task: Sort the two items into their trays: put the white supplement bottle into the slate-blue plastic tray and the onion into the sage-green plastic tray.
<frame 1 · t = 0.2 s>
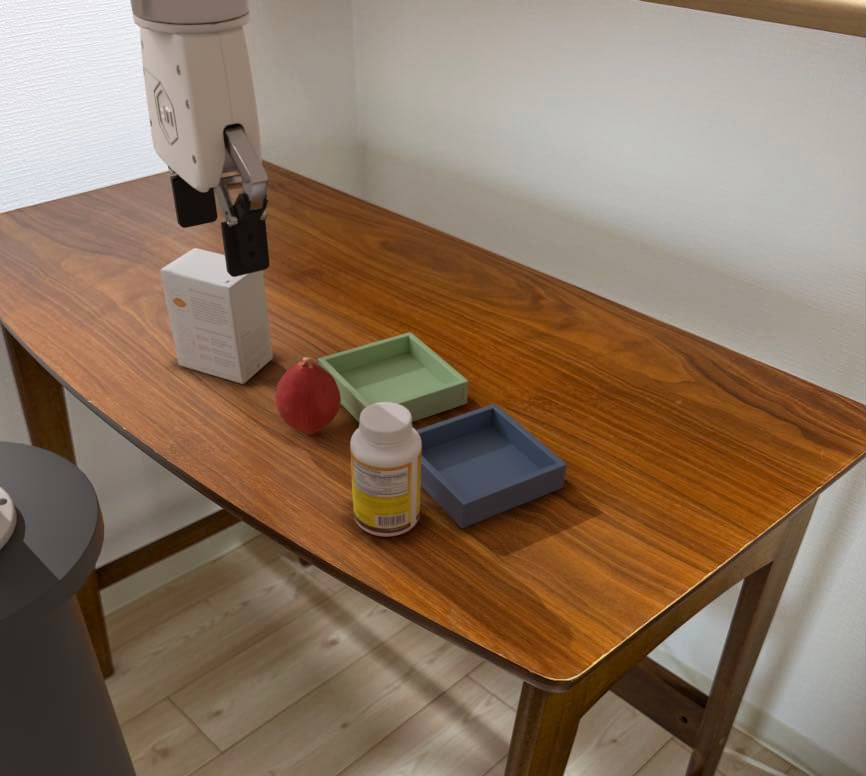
hand: (222, 246, 70), 18 cm above the table, tool pointing down, fingers open, 9 cm apart
onion: (310, 433, 84), on the table
small box: (226, 364, 92), on the table
slate tray: (478, 474, 80), on the table
green tray: (392, 392, 89), on the table
supplement bottle: (386, 519, 75), on the table
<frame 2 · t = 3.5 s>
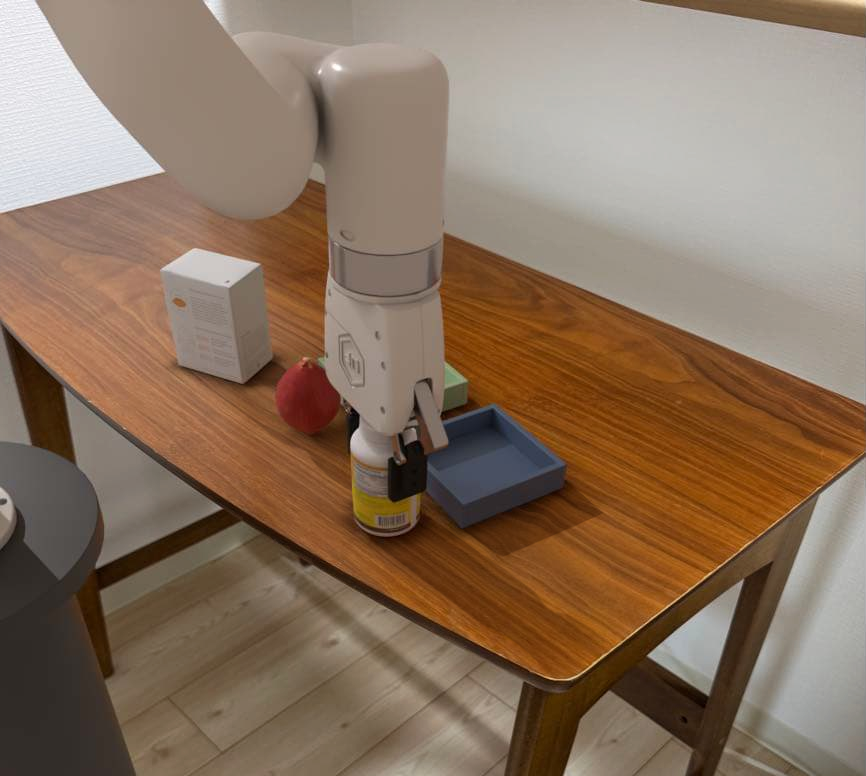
hand: (386, 471, 72), 5 cm above the table, tool pointing down, fingers closed on supplement bottle, 5 cm apart
supplement bottle: (386, 519, 75), on the table, touching gripper
everything else where it was.
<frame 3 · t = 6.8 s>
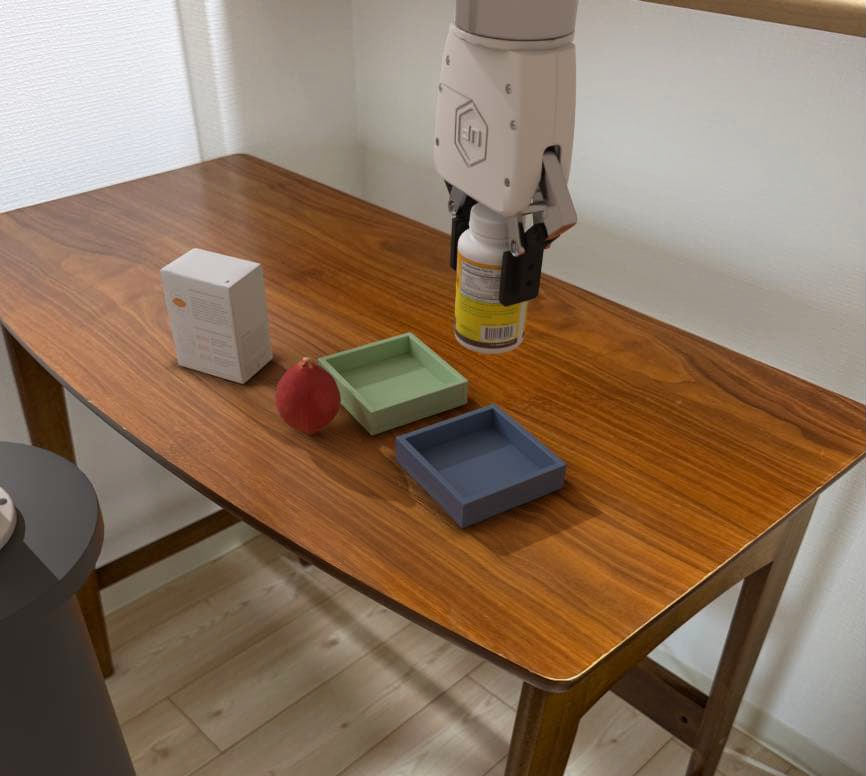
hand: (493, 280, 67), 18 cm above the table, tool pointing down, fingers closed on supplement bottle, 5 cm apart
supplement bottle: (488, 341, 71), point 13 cm above the table, touching gripper
everything else where it was.
when the fingers open (6 cm above the table, at t = 10.1 s): supplement bottle stays where it is, resting on slate tray.
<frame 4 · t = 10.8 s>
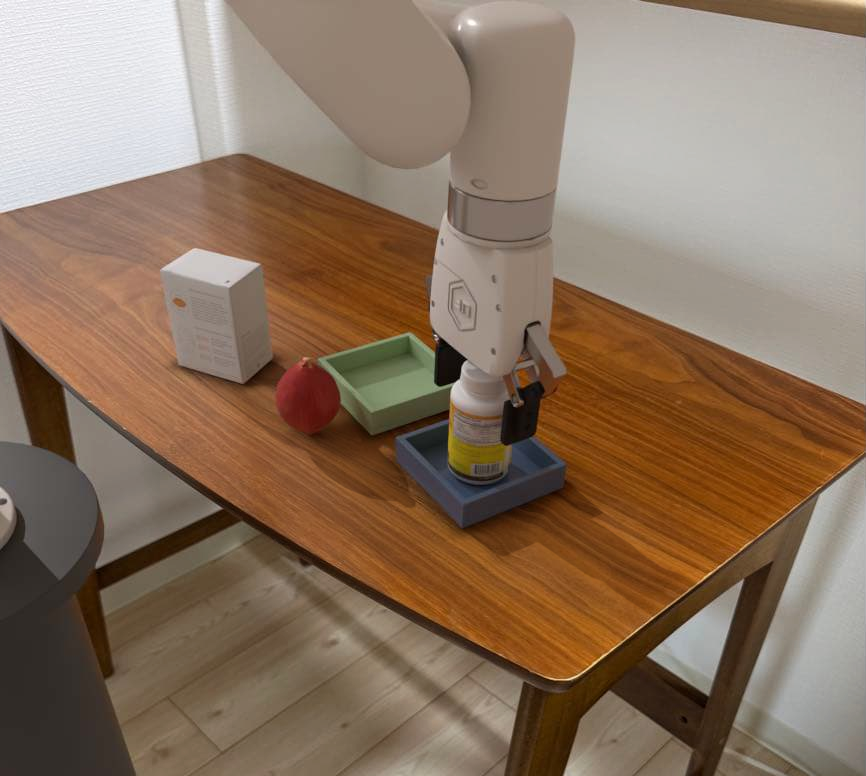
hand: (483, 409, 75), 7 cm above the table, tool pointing down, fingers open, 9 cm apart
supplement bottle: (477, 470, 80), resting on slate tray
everything else where it was.
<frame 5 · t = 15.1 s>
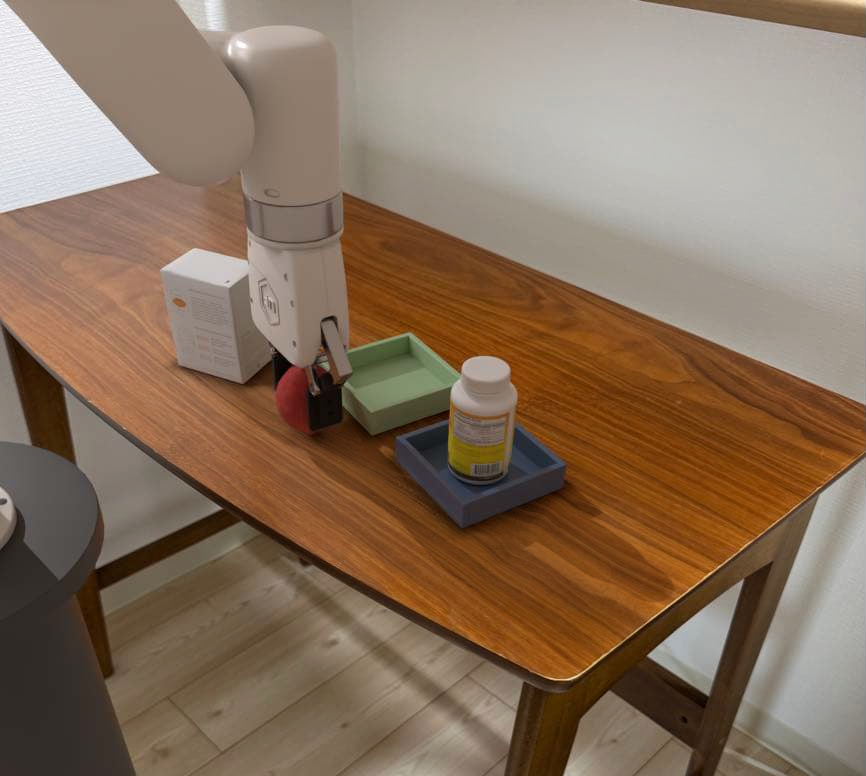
hand: (308, 405, 82), 3 cm above the table, tool pointing down, fingers closed on onion, 6 cm apart
onion: (310, 433, 84), on the table, touching gripper
everything else where it was.
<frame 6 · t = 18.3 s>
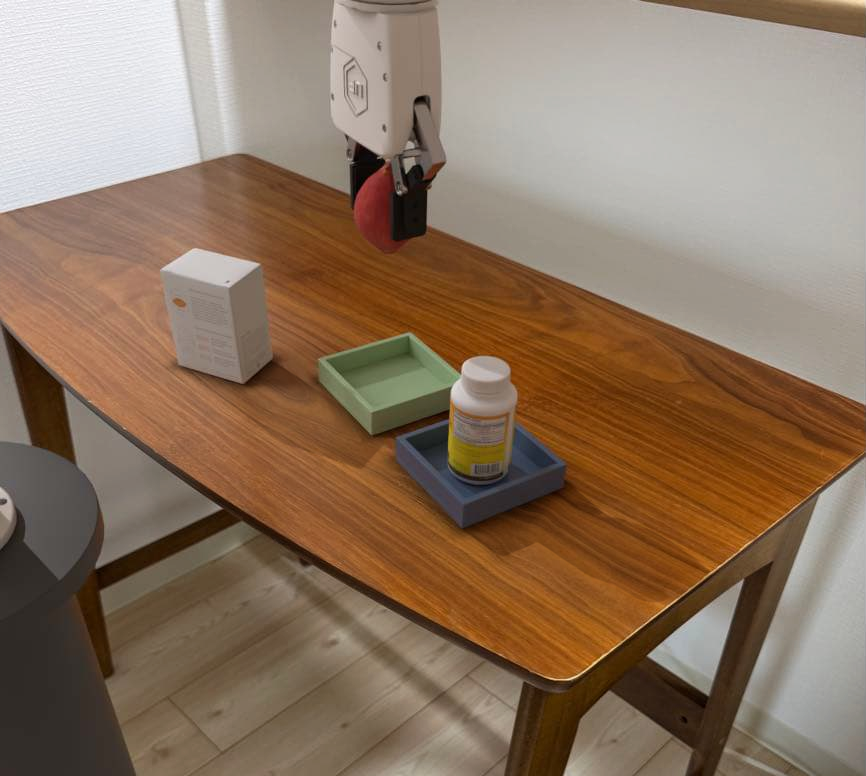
hand: (387, 220, 77), 18 cm above the table, tool pointing down, fingers closed on onion, 6 cm apart
onion: (388, 255, 79), point 14 cm above the table, touching gripper
everything else where it was.
when the fingers open (4 cm above the table, at t = 21.9 s): onion stays where it is, resting on green tray.
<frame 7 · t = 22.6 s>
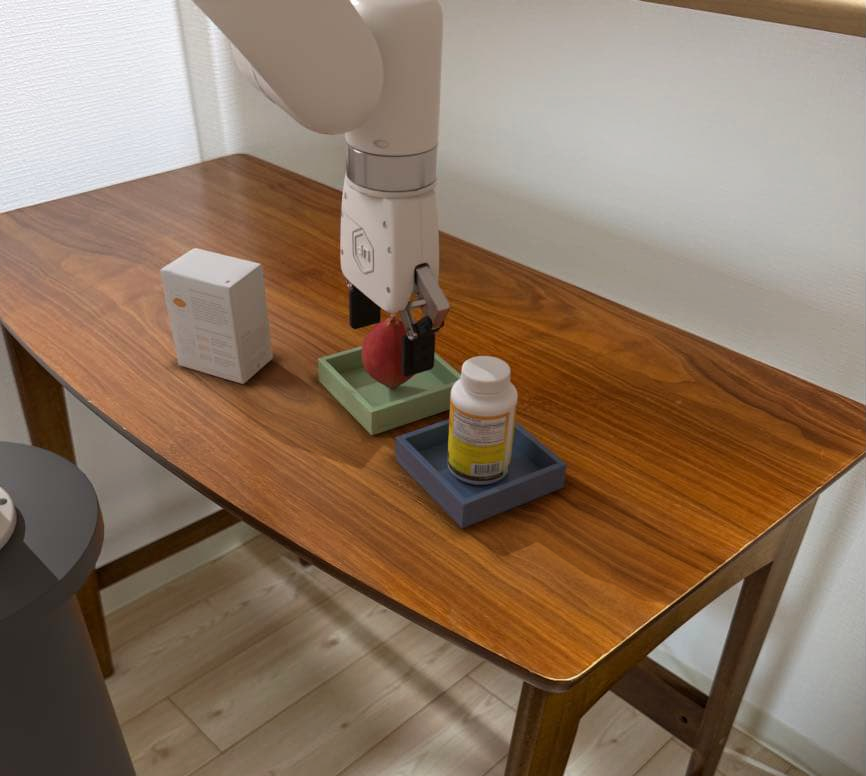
hand: (390, 347, 85), 5 cm above the table, tool pointing down, fingers open, 9 cm apart
onion: (391, 388, 89), resting on green tray
everything else where it was.
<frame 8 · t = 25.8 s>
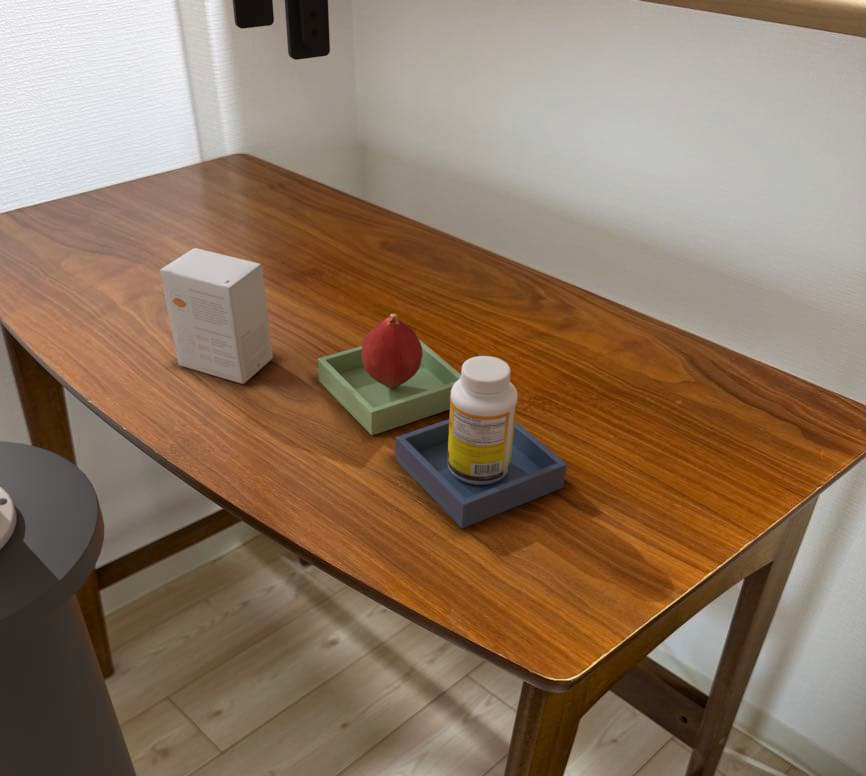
hand: (281, 40, 70), 30 cm above the table, tool pointing down, fingers open, 9 cm apart
nothing on the table moved.
at the end: supplement bottle inside the target area in the slate tray (0.1 cm from its centre), point 0.4 cm above the slate tray's base; supplement bottle tilted 0°; onion inside the target area in the green tray (0.0 cm from its centre), point 0.4 cm above the green tray's base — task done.
